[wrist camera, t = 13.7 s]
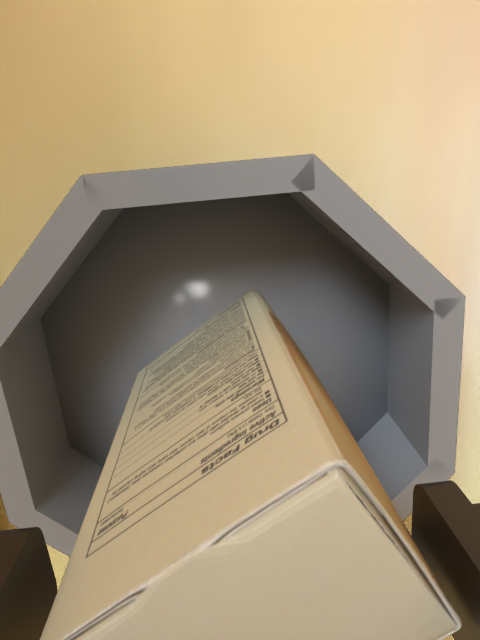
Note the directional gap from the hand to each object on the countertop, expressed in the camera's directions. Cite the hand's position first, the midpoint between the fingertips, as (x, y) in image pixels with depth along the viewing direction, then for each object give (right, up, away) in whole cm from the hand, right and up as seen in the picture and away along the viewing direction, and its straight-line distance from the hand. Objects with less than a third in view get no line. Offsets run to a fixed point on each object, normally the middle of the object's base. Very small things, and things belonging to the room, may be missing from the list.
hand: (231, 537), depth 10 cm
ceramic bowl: (-1, +3, +10) cm, 11 cm away
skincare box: (0, +3, +9) cm, 10 cm away
